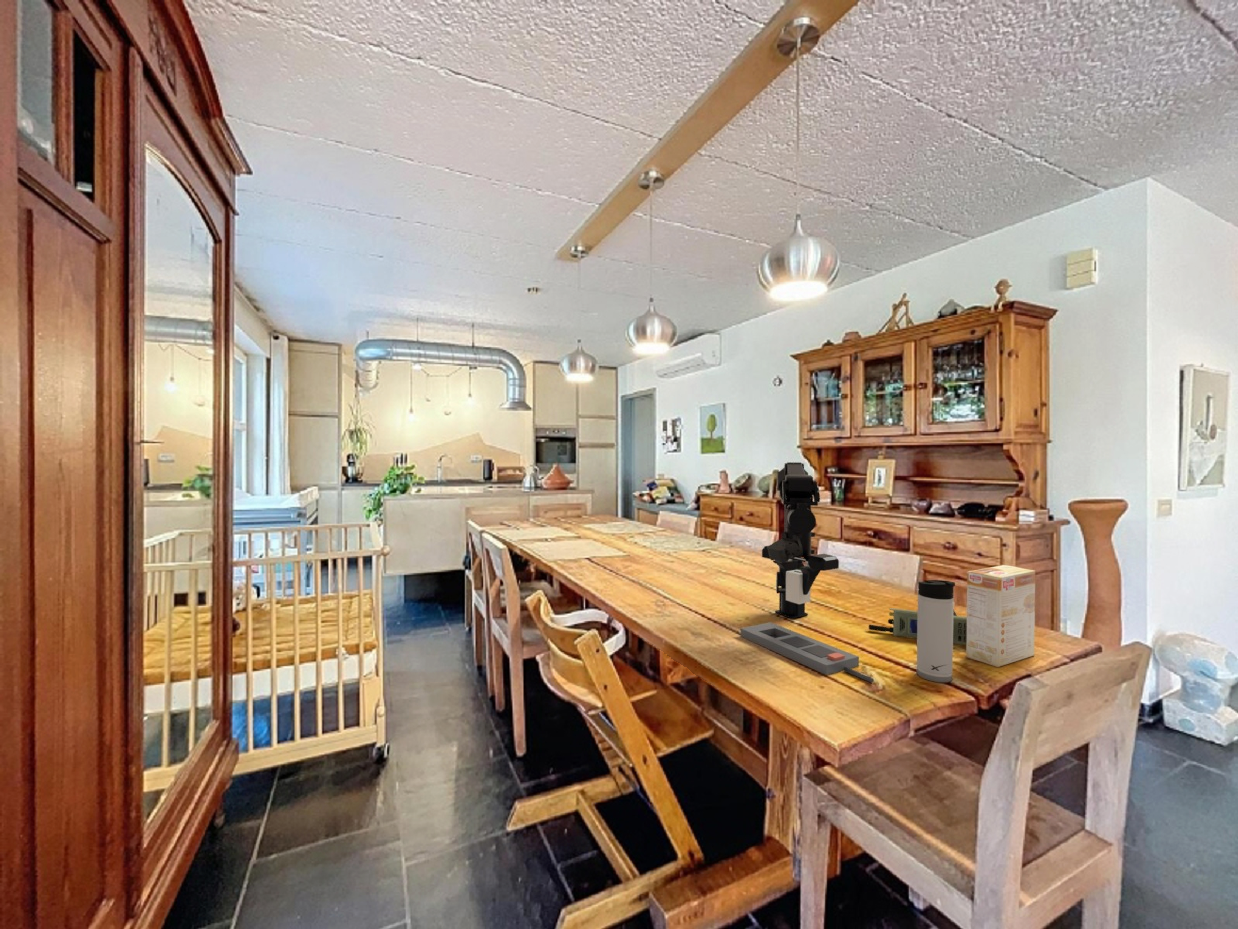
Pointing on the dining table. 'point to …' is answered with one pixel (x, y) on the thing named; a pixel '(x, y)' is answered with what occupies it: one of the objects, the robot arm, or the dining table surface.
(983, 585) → the coffeecake box
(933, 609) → the travel mug
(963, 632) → the handheld radio
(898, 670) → the dining table surface
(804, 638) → the power strip
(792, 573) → the block
